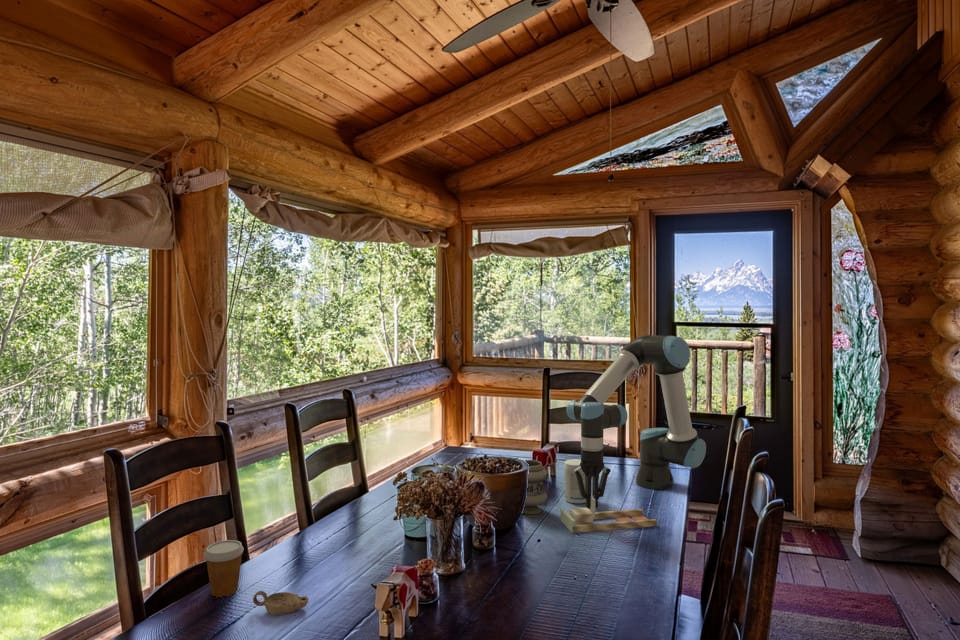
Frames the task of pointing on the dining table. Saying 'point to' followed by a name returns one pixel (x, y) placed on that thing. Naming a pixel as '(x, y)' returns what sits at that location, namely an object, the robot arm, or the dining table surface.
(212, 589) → the disposable coffee cup
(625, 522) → the channel rails
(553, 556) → the dining table surface
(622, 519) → the trap pads
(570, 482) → the supplement tub
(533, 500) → the apothecary jar
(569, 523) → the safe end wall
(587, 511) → the birch block
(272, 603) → the oil lamp
